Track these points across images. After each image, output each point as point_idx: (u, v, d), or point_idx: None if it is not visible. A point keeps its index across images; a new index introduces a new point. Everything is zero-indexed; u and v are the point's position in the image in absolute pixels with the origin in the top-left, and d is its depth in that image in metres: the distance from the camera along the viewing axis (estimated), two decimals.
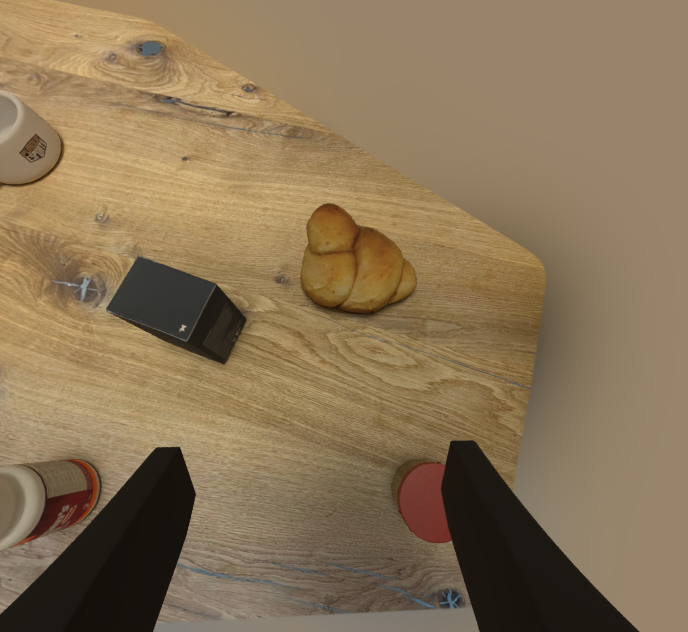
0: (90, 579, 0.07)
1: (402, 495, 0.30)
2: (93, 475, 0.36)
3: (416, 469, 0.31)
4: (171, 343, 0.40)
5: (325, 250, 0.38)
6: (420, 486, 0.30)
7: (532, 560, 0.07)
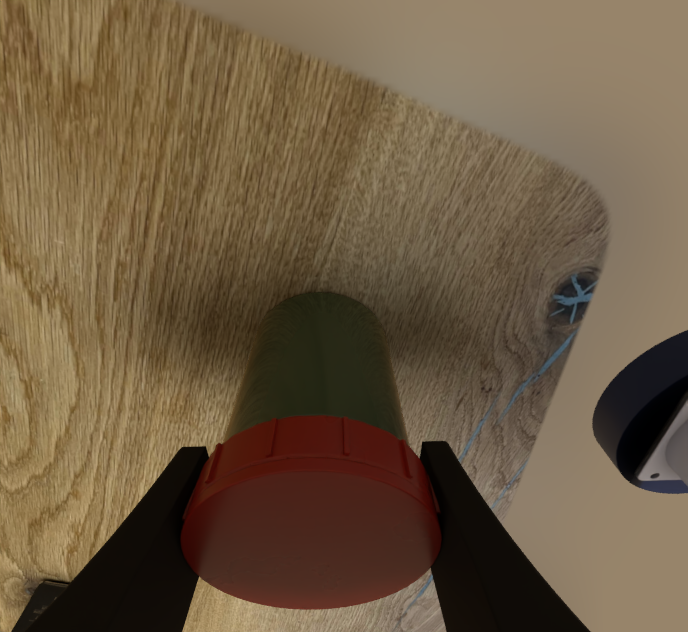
0: (129, 577, 0.07)
1: (295, 606, 0.10)
2: None
3: (213, 584, 0.09)
4: None
5: None
6: (265, 578, 0.09)
7: (491, 561, 0.07)
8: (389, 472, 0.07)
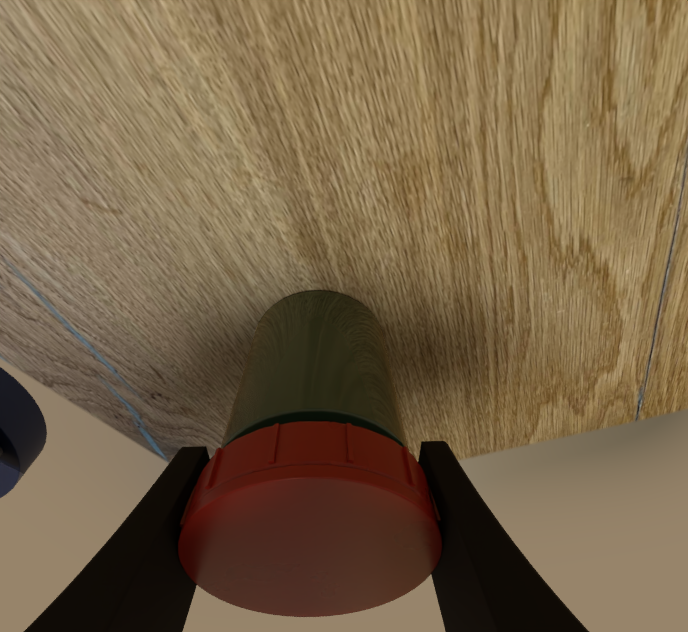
0: (129, 577, 0.07)
1: (291, 613, 0.10)
2: None
3: (209, 590, 0.09)
4: None
5: None
6: (262, 585, 0.09)
7: (490, 561, 0.07)
8: (392, 480, 0.07)
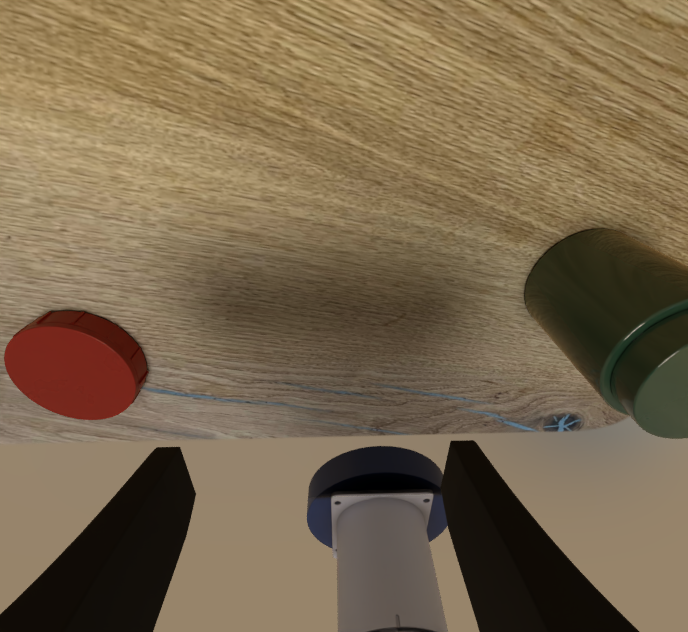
0: (90, 579, 0.07)
1: (78, 416, 0.19)
2: None
3: (30, 397, 0.19)
4: None
5: None
6: (55, 394, 0.18)
7: (532, 560, 0.07)
8: (93, 332, 0.17)
